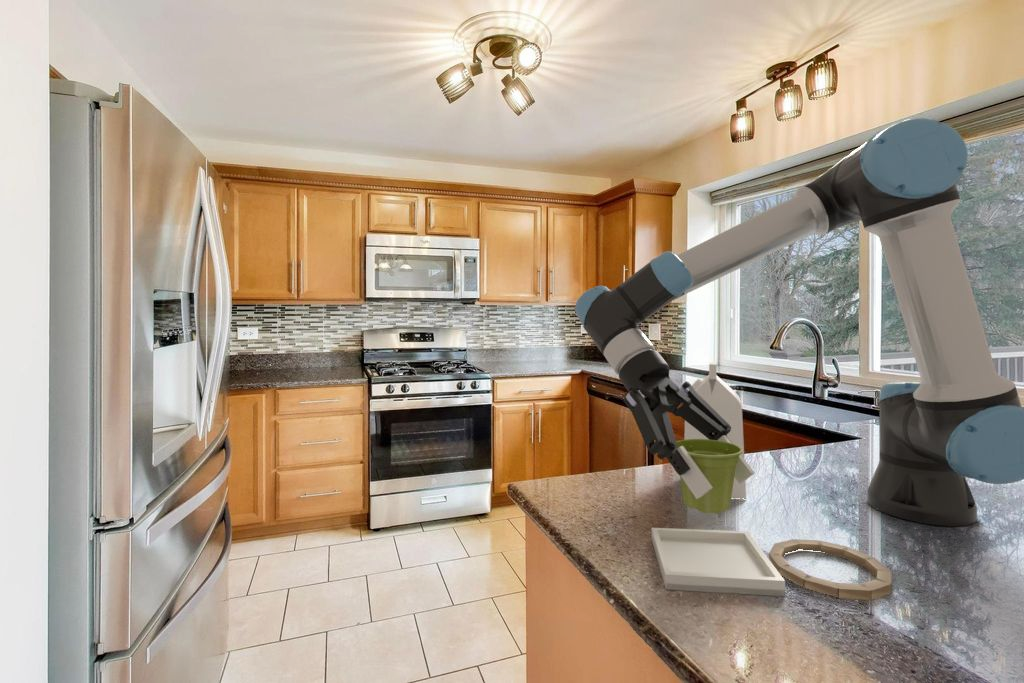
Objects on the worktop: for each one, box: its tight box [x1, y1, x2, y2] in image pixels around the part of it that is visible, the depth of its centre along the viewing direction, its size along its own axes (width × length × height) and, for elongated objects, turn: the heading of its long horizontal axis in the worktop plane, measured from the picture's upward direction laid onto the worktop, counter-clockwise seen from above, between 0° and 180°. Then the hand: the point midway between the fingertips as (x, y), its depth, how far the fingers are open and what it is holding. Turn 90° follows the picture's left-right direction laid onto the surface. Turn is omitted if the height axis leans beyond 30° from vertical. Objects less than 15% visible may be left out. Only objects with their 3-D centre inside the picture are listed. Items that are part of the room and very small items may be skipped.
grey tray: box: [651, 527, 786, 597], centre depth 71 cm, size 15×15×2 cm
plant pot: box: [676, 439, 743, 514], centre depth 70 cm, size 9×9×9 cm
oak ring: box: [768, 538, 893, 601], centre depth 68 cm, size 14×14×1 cm
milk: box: [683, 361, 747, 500], centre depth 102 cm, size 12×12×26 cm
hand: (726, 485), depth 68 cm, fingers closed on plant pot, 9 cm apart
